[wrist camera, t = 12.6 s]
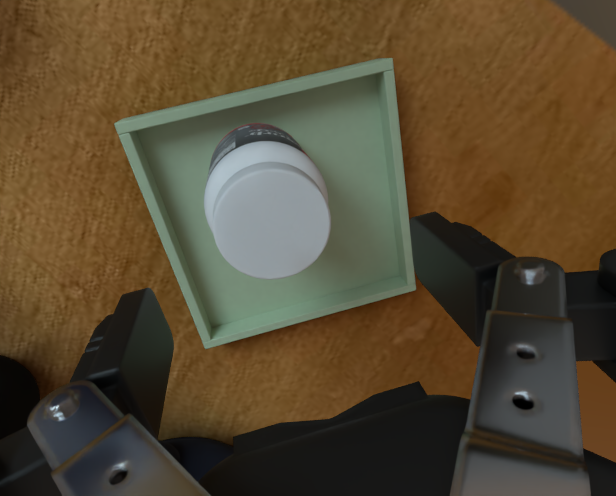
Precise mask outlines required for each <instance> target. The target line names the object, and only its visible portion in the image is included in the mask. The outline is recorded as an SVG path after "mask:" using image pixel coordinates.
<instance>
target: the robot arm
mask: <svg viewBox="0 0 616 496" xmlns="http://www.w3.org/2000/svg"><path fill="white" fill-rule="evenodd" d="M410 236H411V246H412V256H413V265H414V269H415V272H416V275H417V277H418V279H419V280H420V282H421V283H422V284H423V285H424V286H425V287H426V289H427V290H428V291H429V292H430V293H431V294H432V295H433V297H434V298H435V299H436V300H437V301H438V302H439V304H440V305H441V306H442V307H443V308H444V309H445V310H446V312H447V313H448V314H449V315H450V316H451V317H452V318H453V320H454V321H455V322H456V323H457V324H458V325H459V326H460V328H461V329H462V330H463V331H464V332H465V333H466V334H467V336H468V337H469V338H470V339H471V340H472V341H473V342H474V344H475V345H476V346H477V347H478V346H480V351H479V357H478V362H477V368H476V373H475V379H474V384H473V390H472V395H471V400H469V399H465V398H461V397H456V396H448V395H427V394H426V393H425V391H424V389H423V387H422V386H421V384H420V382H419V381H418V382H415V383H412V384H408V385H405V386H402V387H398V388H395V389H392V390H388V391H385V392H382V393H378V394H375V395H373V396H371V397H369V398H368V399H366V400H364V401H362V402H360V403H359V404H357V405H355V406H353V407H351V408H350V409H348V410H346V411H344V412H342V413H341V414H339V415H337V416H335V417H333V418H330V419H325V420H312V421H299V422H286V423H278V424H275V425H271V426H268V427H265V428H261V429H258V430H255V431H251V432H248V433H245V434H241V435H238V436H235V437H233V451H234V454H232V455H230V456H229V457H227V458H225V459H224V460H222V461H221V462H220V463H218V464H217V465H216V466H214V467H213V468H212V469H211V470H210V471H208V472H207V473H206V474H205V475H204V476H203V477H202V478H201V479H200V480H199V481H198V482H197V481H196V480H195V479H194V478H193V477H192V476H191V475H190V474H189V473H188V472H187V471H186V470H185V469H184V468H183V467H182V466H181V465H180V464H179V463H178V461H177V460H176V459H175V458H174V457H173V456H172V455H171V454H170V453H169V452H168V451H167V450H166V449H165V448H164V447H163V446H162V445H161V444H160V443H159V442H158V441H157V439H158V433H159V428H160V422H161V417H162V411H163V406H164V400H165V395H166V389H167V384H168V378H169V372H170V367H171V361H172V356H173V350H174V343H173V337H172V333H171V330H170V328H169V326H168V323H167V321H166V319H165V317H164V314H163V312H162V310H161V308H160V305H159V303H158V301H157V299H156V296H155V294H154V293H153V291H152V290H151V289H150V288H145V289H141V290H138V291H134V292H130V293H126V294H123V295H122V296H121V298H120V300H119V303H118V305H117V307H116V309H115V312H114V314H111V315H108V316H107V317H106V318H105V319H104V320H103V321H102V322H101V323H100V324H99V325H98V326H97V327H96V328H95V330H94V332H93V334H92V336H91V339H90V343H88V345H87V347H86V349H85V353H83V355H82V357H81V359H80V361H79V363H78V365H77V367H76V369H75V372H74V374H73V376H72V378H71V380H70V382H69V383H68V384H66V385H63V386H61V387H59V388H57V389H56V390H54V391H52V392H51V393H50V394H48V395H47V396H46V397H44V398H43V399H42V400H41V401H40V402H39V403H38V404H37V405H36V406H35V407H34V408H33V410H32V411H31V413H30V415H29V417H28V420H27V426H26V427H25V428H23V429H21V430H19V431H17V432H15V433H13V434H11V435H9V436H7V437H5V438H3V439H1V440H0V496H616V463H615V462H613V461H611V460H608V459H606V458H604V457H601V456H599V455H597V454H595V453H593V452H590V451H588V450H586V449H584V448H583V444H582V430H581V418H580V406H579V395H578V382H577V369H576V361H591V360H592V361H593V362H594V363H595V364H596V365H597V366H598V367H599V368H600V369H601V370H602V371H604V372H605V373H606V374H607V375H608V376H609V377H610V378H611V379H612V380H613V381H614V382H616V249H613V250H610V251H608V252H605V253H604V254H603V255H602V256H601V258H600V264H599V270H595V271H583V272H569V273H564V270H563V268H562V267H561V266H560V265H558V264H557V263H555V262H553V261H550V260H547V259H543V258H538V257H517V258H516V257H515V256H514V255H512V254H511V253H509V252H508V251H506V250H505V249H503V248H502V247H500V246H499V245H497V244H496V243H495V242H493V241H490V239H489V238H487V237H486V236H484V235H482V234H481V233H480V232H478V231H477V230H476V229H474V228H473V227H471V226H468V225H464V224H461V223H457V222H454V223H451V222H449V221H448V220H447V219H445V218H444V217H442V216H441V215H440V214H438V213H437V212H431V213H427V214H424V215H420V216H416V217H412V218H411V219H410Z"/></svg>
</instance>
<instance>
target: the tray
mask: <svg viewBox="0 0 616 496" xmlns="http://www.w3.org/2000/svg"><path fill="white" fill-rule="evenodd" d="M393 69H394V67H393V59H392V58H379V59H375V60H370V61H366V62H362V63H358V64H353V65H349V66H345V67H341V68H336V69H332V70H328V71H324V72H319V73H315V74H311V75H307V76H302V77H298V78H294V79H290V80H285V81H281V82H277V83H273V84H268V85H264V86H260V87H256V88H251V89H247V90H243V91H239V92H234V93H230V94H226V95H222V96H217V97H213V98H209V99H205V100H200V101H196V102H192V103H188V104H183V105H179V106H175V107H171V108H166V109H162V110H158V111H154V112H149V113H145V114H141V115H137V116H132V117H128V118H124V119H122V120H120V121H118V122H116V123H115V124H114V125H115V128H116V130H117V133H118V134H119V138H120V140H121V143H122V145H123V148H124V150H125V152H126V155H127V157H128V160H129V162H130V165H131V167H132V170H133V172H134V175H135V177H136V180H137V182H138V184H139V187H140V189H141V192H142V194H143V197H144V199H145V202H146V204H147V207H148V209H149V212H150V214H151V216H152V219H153V221H154V224H155V226H156V229H157V231H158V234H159V236H160V239H161V241H162V243H163V246H164V248H165V251H166V253H167V256H168V258H169V261H170V263H171V266H172V268H173V271H174V273H175V275H176V278H177V280H178V283H179V285H180V288H181V290H182V293H183V295H184V298H185V300H186V303H187V305H188V307H189V310H190V312H191V315H192V317H193V320H194V322H195V325H196V327H197V330H198V332H199V335H200V337H201V339H202V342H203V344H204V347H205V349H208V348H211V347H215V346H218V345H222V344H226V343H229V342H233V341H236V340H240V339H243V338H247V337H251V336H254V335H258V334H261V333H265V332H268V331H272V330H275V329H279V328H283V327H286V326H290V325H293V324H297V323H300V322H304V321H308V320H311V319H315V318H318V317H322V316H325V315H329V314H332V313H336V312H340V311H343V310H347V309H350V308H354V307H357V306H361V305H365V304H368V303H372V302H375V301H379V300H382V299H386V298H389V297H393V296H397V295H400V294H404V293H407V292H411V291H414V290H416V283H415V274H414V265H413V256H412V246H411V236H410V224H409V215H408V205H407V195H406V185H405V175H404V165H403V156H402V146H401V136H400V126H399V116H398V106H397V97H396V87H395V77H394V70H393ZM250 123H265V124H270V125H273V126H276V127H278V128H281V129H282V130H284V131H285V132H287V133H288V134H289V135H291V136H292V137H293V138H294V139H295V140H296V142H297V143H298V144H299V145H300V147H301V148H302V149H303V150H304V152H305V153H306V154H307V155H308V156H309V157H310V159H311V160H312V161H313V162H314V163H315V165H316V166H317V168H318V169H319V171H320V173H321V174H322V177H323V179H324V181H325V184H326V187H327V192H328V206H329V210H330V215H331V230H330V235H329V239H328V242H327V244H326V246H325V248H324V250H323V252H322V253H321V255H320V256H319V257H318V259H317V260H316V261H315V262H314V263H312V264H311V265H310V266H309V267H307V268H306V269H305V270H303V271H301V272H300V273H297V274H295V275H293V276H290V277H286V278H282V279H274V280H268V279H259V278H255V277H251V276H248V275H246V274H244V273H242V272H240V271H238V270H237V269H235V268H234V267H233V266H231V265H230V264H229V263H228V262H227V261H226V260H225V258H224V257H223V256H222V254H221V253H220V251H219V249H218V247H217V245H216V242H215V239H214V235H213V233H212V231H211V229H210V227H209V224H208V222H207V219H206V215H205V209H204V194H205V187H206V182H207V178H208V173H209V167H210V163H211V158H212V155H213V153H214V150H215V148H216V147H217V145H218V143H219V142H220V141H221V139H222V138H223V137H224V136H225V135H226V134H228V133H229V132H230V131H232V130H233V129H235V128H237V127H239V126H242V125H245V124H250Z"/></svg>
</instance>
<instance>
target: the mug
mask: <svg viewBox="0 0 616 496" xmlns="http://www.w3.org/2000/svg"><path fill="white" fill-rule="evenodd" d="M39 402H40V396H39V389H38V386H37V383H36V381H35V379H34V377H33V376H32V375H31V373H30V372H29V371H28V370H27V369H26V368H24V367H23V366H22V365H20V364H19V363H17V362H15V361H14V360H11V359H9V358H7V357H4V356H0V440H1V439H3V438H5V437H7V436H9V435H11V434H13V433H15V432H17V431H19V430H21V429H23V428H25V427H26V426H27V420H28V417H29V415H30V413H31V411H32V410H33V408H34V407H35V406H36V405H37V404H38V403H39Z"/></svg>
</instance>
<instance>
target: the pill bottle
mask: <svg viewBox="0 0 616 496" xmlns="http://www.w3.org/2000/svg"><path fill="white" fill-rule="evenodd" d="M204 209H205V215H206V219H207V222H208V224H209V227H210V229H211V231H212V233H213V235H214V239H215V242H216V245H217V247H218V249H219V251H220V253H221V254H222V256H223V257H224V258H225V260H226V261H227V262H228V263H229V264H230V265H231V266H233V267H234V268H235V269H237V270H238V271H240V272H242V273H244V274H246V275H248V276H251V277H255V278H259V279H268V280H274V279H282V278H286V277H290V276H293V275H295V274H297V273H300V272H301V271H303V270H305V269H306V268H307V267H309V266H310V265H311V264H312V263H314V262H315V261H316V260H317V259H318V257H319V256H320V255H321V253H322V252H323V250H324V248H325V246H326V244H327V242H328V239H329V235H330V230H331V215H330V210H329V206H328V192H327V187H326V184H325V181H324V179H323V177H322V174H321V173H320V171H319V169H318V168H317V166H316V165H315V163H314V162H313V161H312V160H311V159H310V157H309V156H308V155H307V154H306V153H305V152H304V150H303V149H302V148H301V147H300V145H299V144H298V143H297V142H296V140H295V139H294V138H293V137H292V136H291V135H289V134H288V133H287V132H285V131H284V130H282V129H281V128H278V127H276V126H273V125H270V124H265V123H250V124H245V125H242V126H239V127H237V128H235V129H233V130H232V131H230V132H229V133H228V134H226V135H225V136H224V137H223V138H222V139H221V141H220V142H219V143H218V145H217V147H216V148H215V150H214V153H213V155H212V158H211V163H210V167H209V173H208V178H207V182H206V187H205V194H204Z"/></svg>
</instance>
